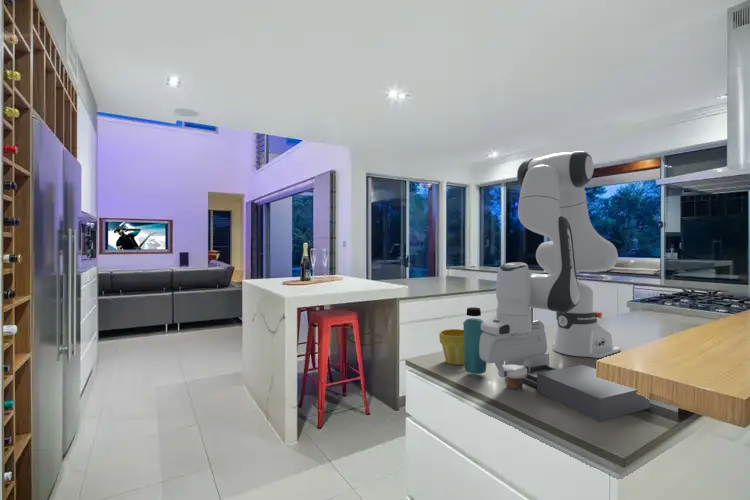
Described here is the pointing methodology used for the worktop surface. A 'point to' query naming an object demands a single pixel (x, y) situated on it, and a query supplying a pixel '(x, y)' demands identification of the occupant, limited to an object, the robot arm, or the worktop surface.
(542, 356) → the tray
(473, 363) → the beverage bottle
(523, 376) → the disc
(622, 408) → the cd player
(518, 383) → the disc stand
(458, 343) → the plant pot
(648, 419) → the worktop surface
